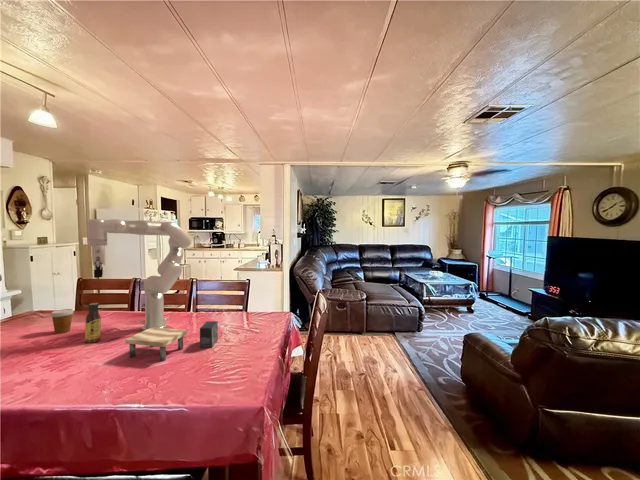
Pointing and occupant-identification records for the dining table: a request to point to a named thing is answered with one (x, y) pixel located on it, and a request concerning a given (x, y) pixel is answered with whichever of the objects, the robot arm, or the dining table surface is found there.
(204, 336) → the small box
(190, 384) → the dining table surface
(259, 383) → the dining table surface
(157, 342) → the peg shelf
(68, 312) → the disposable coffee cup
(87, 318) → the sauce bottle
